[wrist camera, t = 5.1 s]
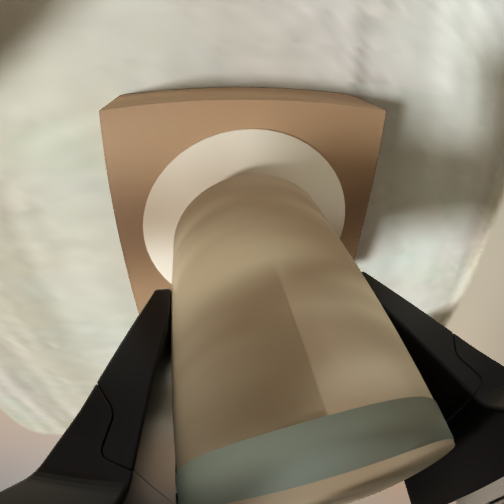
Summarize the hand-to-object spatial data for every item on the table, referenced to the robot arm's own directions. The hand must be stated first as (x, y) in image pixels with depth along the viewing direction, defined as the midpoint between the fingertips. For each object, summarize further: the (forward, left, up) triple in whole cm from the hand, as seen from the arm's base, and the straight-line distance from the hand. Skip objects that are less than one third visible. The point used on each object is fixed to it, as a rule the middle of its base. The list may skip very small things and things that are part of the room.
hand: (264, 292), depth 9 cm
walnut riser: (0, 0, -6) cm, 6 cm away
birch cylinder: (0, 0, -2) cm, 2 cm away
